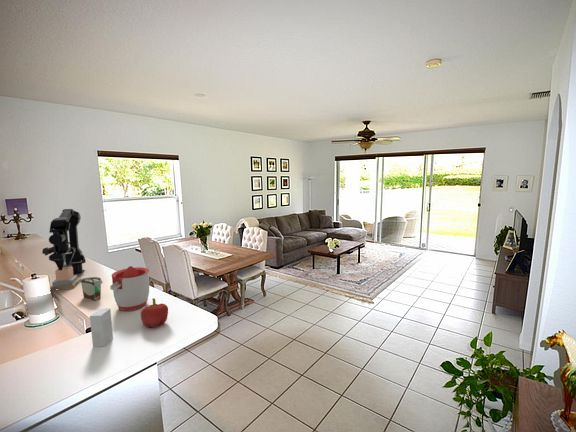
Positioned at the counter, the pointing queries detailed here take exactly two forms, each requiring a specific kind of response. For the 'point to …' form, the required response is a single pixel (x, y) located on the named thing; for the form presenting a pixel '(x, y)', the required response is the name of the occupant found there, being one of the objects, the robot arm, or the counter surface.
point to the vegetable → (154, 314)
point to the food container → (91, 288)
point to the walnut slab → (67, 285)
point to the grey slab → (64, 282)
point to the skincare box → (101, 327)
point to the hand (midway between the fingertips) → (64, 267)
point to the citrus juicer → (130, 287)
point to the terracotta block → (64, 274)
